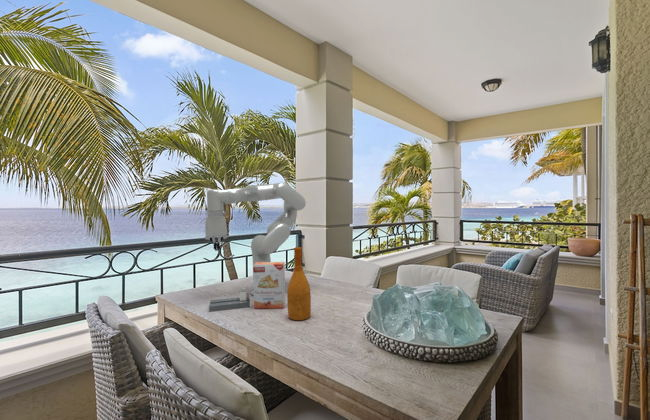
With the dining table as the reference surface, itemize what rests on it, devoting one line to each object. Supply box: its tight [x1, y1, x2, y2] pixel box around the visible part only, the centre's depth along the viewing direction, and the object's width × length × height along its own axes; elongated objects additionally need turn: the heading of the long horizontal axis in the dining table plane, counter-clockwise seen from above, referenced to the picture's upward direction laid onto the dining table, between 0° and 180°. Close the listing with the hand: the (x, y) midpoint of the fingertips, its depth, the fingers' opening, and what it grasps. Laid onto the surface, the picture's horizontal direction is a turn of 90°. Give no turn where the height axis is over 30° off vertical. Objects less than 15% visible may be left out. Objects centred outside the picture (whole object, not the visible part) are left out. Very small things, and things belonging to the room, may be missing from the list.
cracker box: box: [252, 261, 286, 310], centre depth 147 cm, size 14×6×21 cm, turn 90°
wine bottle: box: [286, 246, 312, 321], centre depth 133 cm, size 10×10×30 cm
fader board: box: [208, 292, 251, 313], centre depth 149 cm, size 18×10×4 cm, turn 107°
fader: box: [238, 287, 247, 301], centre depth 151 cm, size 3×5×5 cm, turn 17°
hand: (216, 250), depth 157 cm, fingers closed
